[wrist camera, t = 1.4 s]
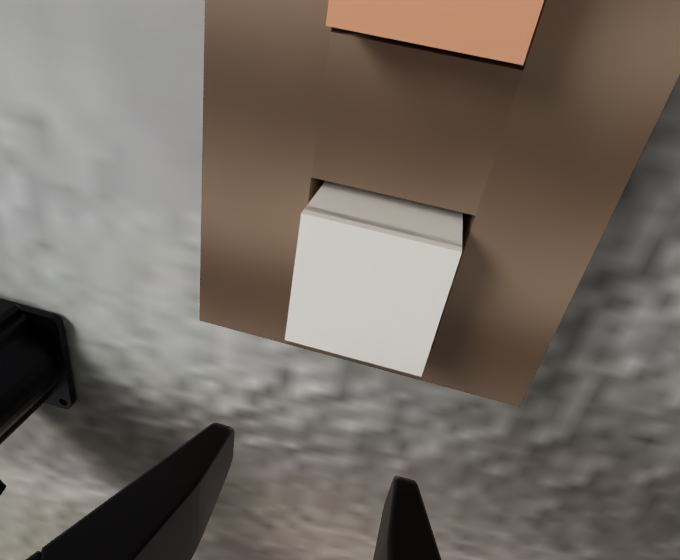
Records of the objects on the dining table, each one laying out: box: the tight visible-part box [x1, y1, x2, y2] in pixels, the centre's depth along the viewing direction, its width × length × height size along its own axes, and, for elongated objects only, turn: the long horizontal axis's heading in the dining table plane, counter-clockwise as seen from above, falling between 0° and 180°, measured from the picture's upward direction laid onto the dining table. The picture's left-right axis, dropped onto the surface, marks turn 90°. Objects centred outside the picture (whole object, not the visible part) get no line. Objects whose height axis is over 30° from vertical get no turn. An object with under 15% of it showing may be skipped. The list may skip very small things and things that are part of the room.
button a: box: [285, 181, 463, 377], centre depth 16 cm, size 4×4×4 cm
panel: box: [200, 0, 680, 407], centre depth 16 cm, size 17×12×4 cm
